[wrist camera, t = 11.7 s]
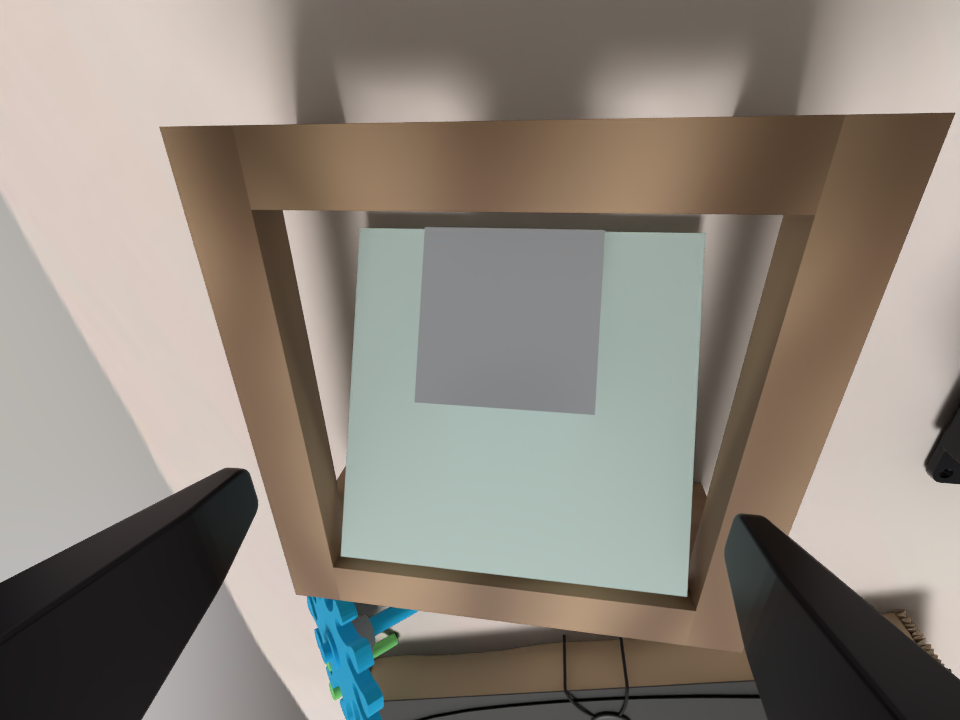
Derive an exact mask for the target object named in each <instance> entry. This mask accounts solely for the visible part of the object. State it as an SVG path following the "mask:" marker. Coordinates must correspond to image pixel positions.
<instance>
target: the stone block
mask: <svg viewBox="0 0 960 720" xmlns="http://www.w3.org/2000/svg"><path fill="white" fill-rule="evenodd" d="M604 239H605V230H580V229H519V228H459V227H425V233H424V250H423V267H422V284H421V301H420V318H419V335H418V352H417V368H416V385H415V402H416V403H431V404H445V405H459V406H473V407H488V408H502V409H516V410H530V411H545V412H559V413H573V414H588V415H595V403H596V385H597V367H598V348H599V330H600V312H601V293H602V275H603V257H604Z"/></svg>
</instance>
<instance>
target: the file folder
mask: <svg viewBox="0 0 960 720" xmlns="http://www.w3.org/2000/svg"><path fill="white" fill-rule="evenodd" d="M882 615H883V616H884V617H886V618H887V619H888V620H889V621H890V622H892V623H893V624H894V625H895V626H896V627H898V628H899V629H900V630H901V631H902V632H903V633H905V634H906V635H907V636H908V637H909V638H911V639H912V640H913V641H914V642H915V643H917V644H918V645H919V646H920V647H921V648H923V649H924V650H925V651H926V652H927V653H929V654H930V655H931V656H932V657H933V658H935V659H936V660H937V661H938V662H939V663H941V660H940V659H938V655H935V654H934V649H931V645H930V644H925V638H923V635H922V634H919V630H917V627H915V624H914V623H911V617H907V616H906V611H902V610H894V613H883V614H882ZM942 665H943V666H944V664H942ZM947 669H948V668H947ZM369 670H370V672H371V674H372V676H373V678H374V679H375V681H376V682H377V683H378V685H379V687H380V689H381V691H382V694H383V698H384V707H383V708H382V709H380V710H379V713H380V715H381V718H382V720H768V719H767V716H766V713H765V710H764V707H763V704H762V701H761V699H760V696H759V693H758V690H757V687H756V684H755V681H754V678H753V675H752V672H751V669H750V665H749V662H748V659H747V656H746V652H745V648H744V649H743V651H742V653H739V652H732V651H724V650H716V649H709V648H701V647H694V646H686V645H678V644H671V643H663V642H655V641H648V640H640V639H632V638H622V637H619V639H613V640H599V641H578V642H566V635H563V642H558V643H548V644H540V645H534V646H527V647H521V648H515V649H507V650H500V651H491V652H478V653H465V654H456V655H399V656H390V657H383V658H377V659H374V665H373V666H371V667H369ZM948 670H949V671H950V672H951V669H948Z"/></svg>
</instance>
